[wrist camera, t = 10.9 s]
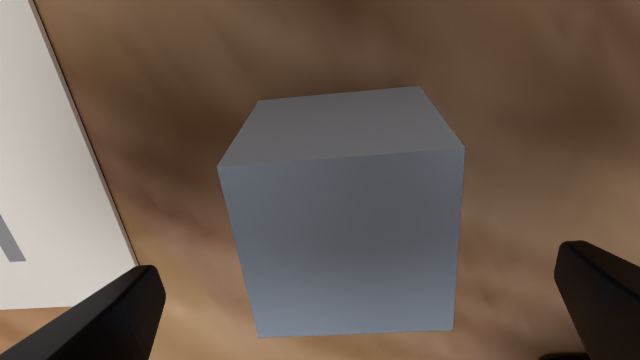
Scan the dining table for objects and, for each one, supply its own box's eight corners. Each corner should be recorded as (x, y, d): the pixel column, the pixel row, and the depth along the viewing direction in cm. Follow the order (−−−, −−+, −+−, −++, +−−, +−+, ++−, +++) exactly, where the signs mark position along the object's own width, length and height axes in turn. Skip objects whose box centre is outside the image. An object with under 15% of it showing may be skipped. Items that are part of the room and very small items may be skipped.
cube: (418, 84, 12) (465, 147, 8) (417, 221, 14) (452, 329, 10) (259, 99, 13) (216, 166, 8) (282, 229, 15) (258, 337, 10)
